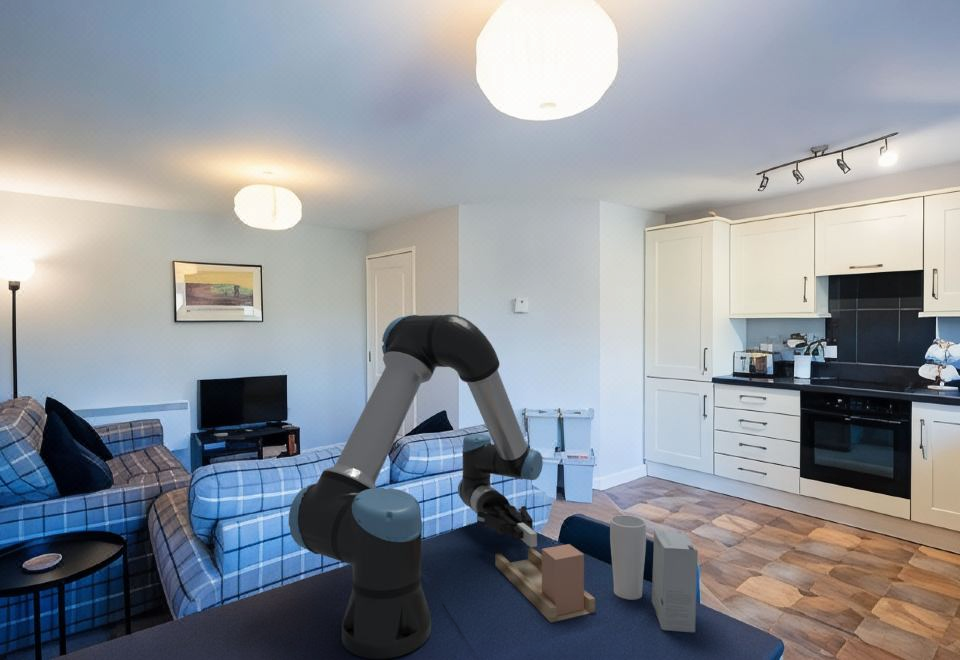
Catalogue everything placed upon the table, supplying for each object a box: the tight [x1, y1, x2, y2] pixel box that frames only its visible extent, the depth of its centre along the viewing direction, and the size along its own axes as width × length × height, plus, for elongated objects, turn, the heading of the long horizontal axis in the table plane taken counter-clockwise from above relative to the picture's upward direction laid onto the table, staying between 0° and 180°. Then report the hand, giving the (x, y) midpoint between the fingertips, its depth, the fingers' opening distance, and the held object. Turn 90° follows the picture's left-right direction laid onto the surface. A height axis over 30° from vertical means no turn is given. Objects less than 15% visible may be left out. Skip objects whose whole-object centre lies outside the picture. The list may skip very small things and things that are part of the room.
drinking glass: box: [609, 514, 647, 600], centre depth 100 cm, size 7×7×15 cm
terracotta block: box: [541, 543, 585, 615], centre depth 95 cm, size 5×6×10 cm
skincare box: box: [651, 529, 699, 633], centre depth 92 cm, size 8×6×15 cm
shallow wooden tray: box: [494, 547, 596, 623], centre depth 103 cm, size 24×9×3 cm, turn 22°
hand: (533, 540), depth 106 cm, fingers closed
